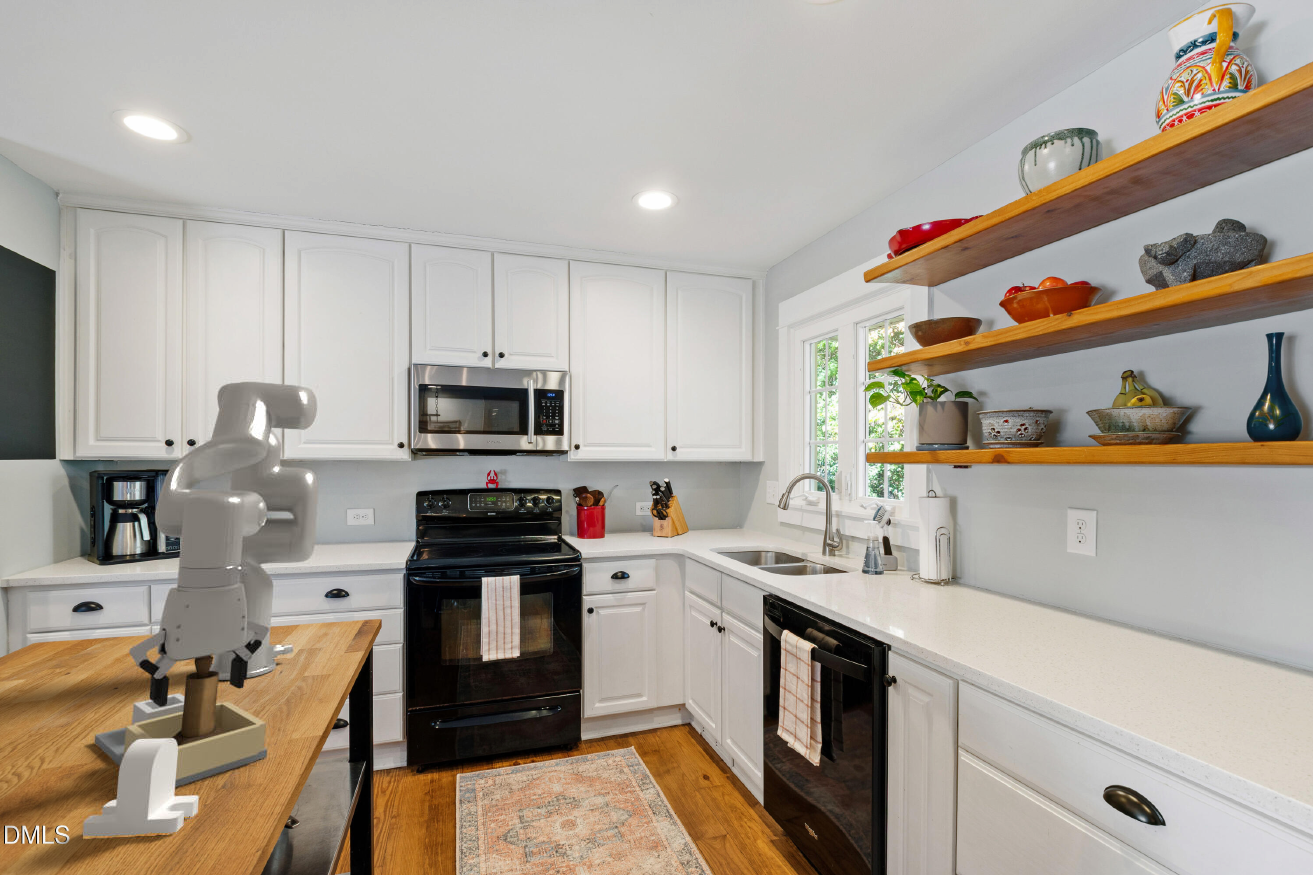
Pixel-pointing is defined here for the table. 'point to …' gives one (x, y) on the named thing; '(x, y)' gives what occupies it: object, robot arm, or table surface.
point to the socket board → (196, 757)
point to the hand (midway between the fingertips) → (199, 694)
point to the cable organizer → (145, 794)
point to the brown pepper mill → (199, 704)
